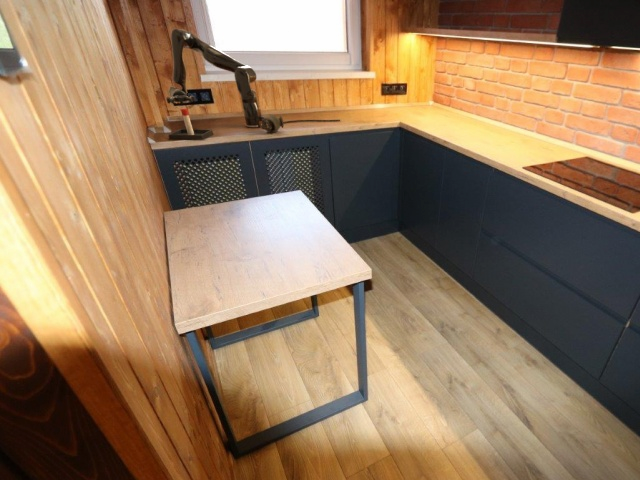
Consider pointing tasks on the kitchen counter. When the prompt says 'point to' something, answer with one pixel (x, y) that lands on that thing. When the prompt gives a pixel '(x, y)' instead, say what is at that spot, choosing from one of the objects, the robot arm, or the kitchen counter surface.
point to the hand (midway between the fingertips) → (181, 101)
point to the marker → (187, 121)
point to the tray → (198, 135)
